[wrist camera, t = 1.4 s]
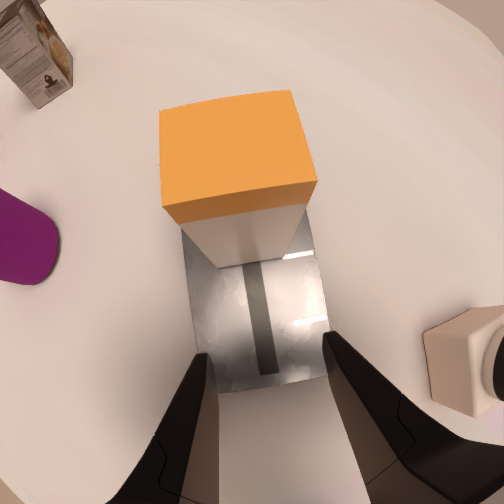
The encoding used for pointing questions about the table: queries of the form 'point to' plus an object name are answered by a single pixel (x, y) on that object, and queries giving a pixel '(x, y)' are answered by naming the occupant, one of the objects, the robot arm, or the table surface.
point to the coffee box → (33, 52)
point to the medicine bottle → (468, 360)
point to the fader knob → (236, 174)
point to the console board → (259, 315)
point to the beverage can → (25, 242)
